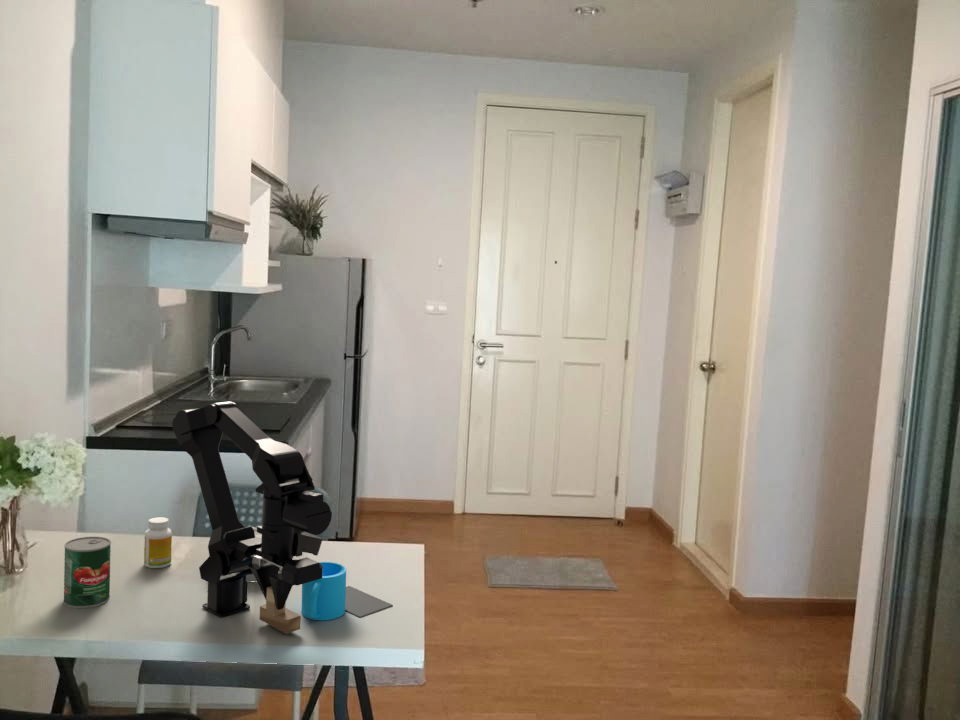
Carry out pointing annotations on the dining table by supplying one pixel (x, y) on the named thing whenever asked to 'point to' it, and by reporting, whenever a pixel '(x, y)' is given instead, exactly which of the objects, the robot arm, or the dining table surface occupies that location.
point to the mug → (325, 593)
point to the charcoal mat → (362, 602)
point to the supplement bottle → (157, 543)
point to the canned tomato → (87, 572)
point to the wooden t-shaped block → (279, 615)
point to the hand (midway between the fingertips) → (275, 606)
